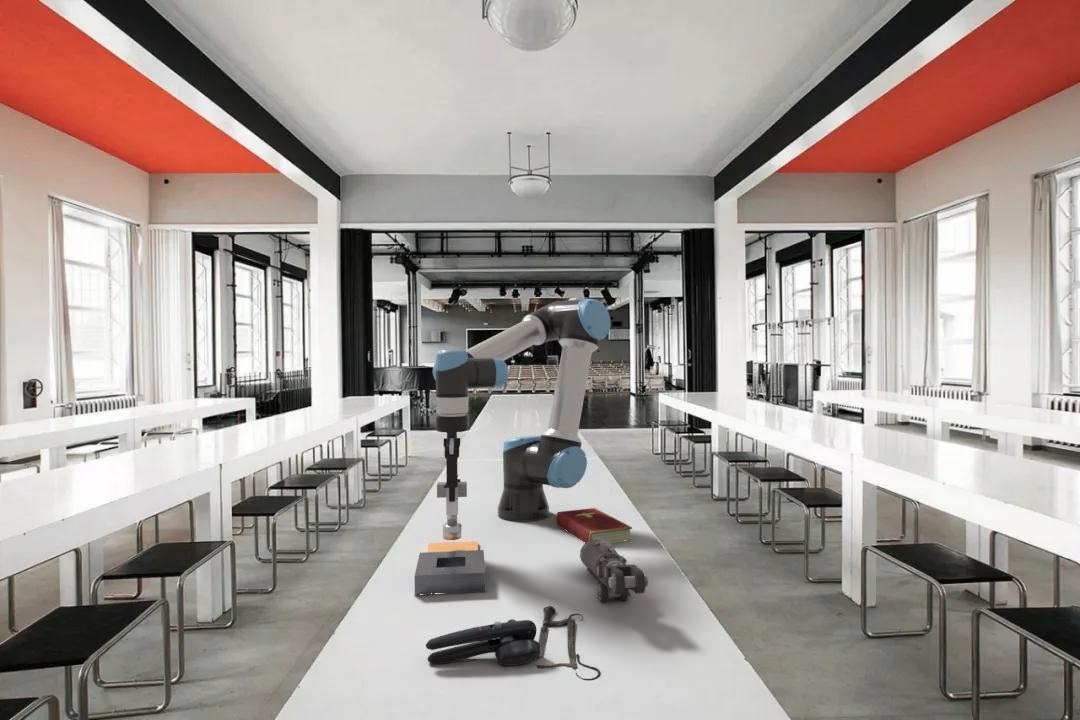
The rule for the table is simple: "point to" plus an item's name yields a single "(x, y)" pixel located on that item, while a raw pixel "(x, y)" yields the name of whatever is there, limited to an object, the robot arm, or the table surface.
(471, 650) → the can opener
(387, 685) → the table surface
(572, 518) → the hardcover book
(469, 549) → the key mat
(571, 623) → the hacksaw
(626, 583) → the hydraulic cylinder
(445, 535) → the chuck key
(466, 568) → the block
